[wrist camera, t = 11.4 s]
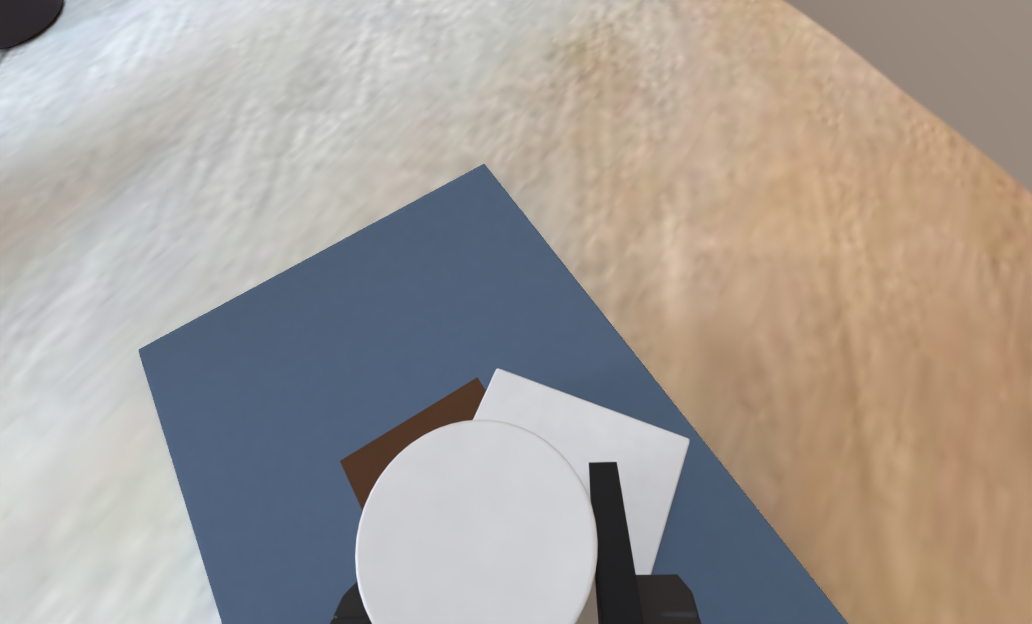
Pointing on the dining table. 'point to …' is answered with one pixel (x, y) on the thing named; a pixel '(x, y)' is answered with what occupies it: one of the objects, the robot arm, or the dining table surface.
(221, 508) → the mat
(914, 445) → the dining table surface
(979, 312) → the dining table surface
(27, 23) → the vinegar
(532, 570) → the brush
